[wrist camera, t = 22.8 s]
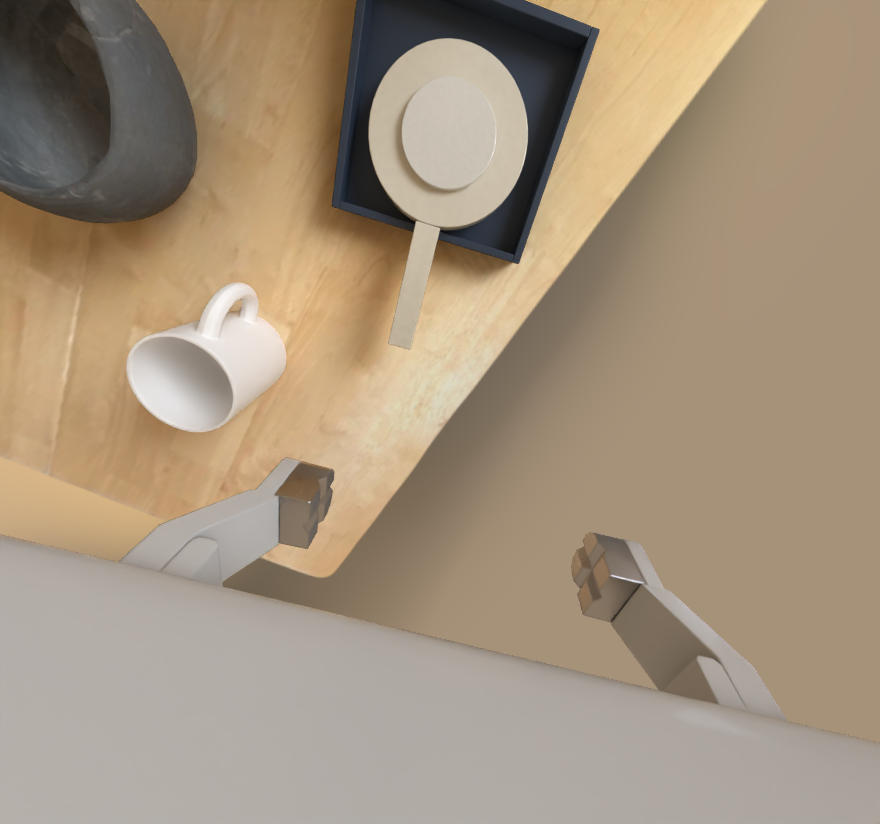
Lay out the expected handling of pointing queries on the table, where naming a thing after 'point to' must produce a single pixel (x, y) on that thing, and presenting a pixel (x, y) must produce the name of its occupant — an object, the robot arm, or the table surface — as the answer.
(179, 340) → the mug
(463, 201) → the beige frying pan
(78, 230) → the table surface
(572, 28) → the tray
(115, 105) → the bowl
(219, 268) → the table surface
